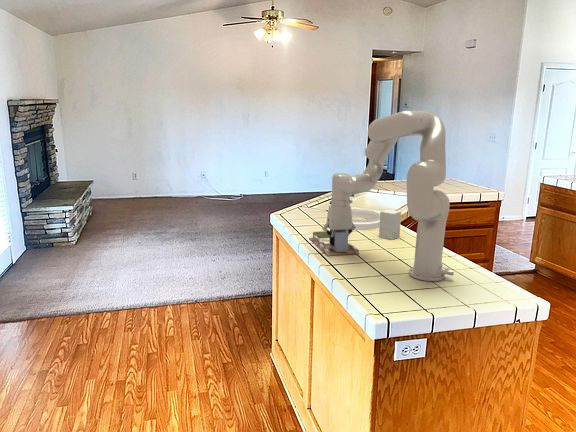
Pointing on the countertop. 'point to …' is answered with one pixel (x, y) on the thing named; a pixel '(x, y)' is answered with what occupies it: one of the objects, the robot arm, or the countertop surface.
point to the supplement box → (390, 224)
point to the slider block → (340, 241)
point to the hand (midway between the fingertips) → (338, 244)
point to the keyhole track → (323, 244)
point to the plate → (368, 224)
